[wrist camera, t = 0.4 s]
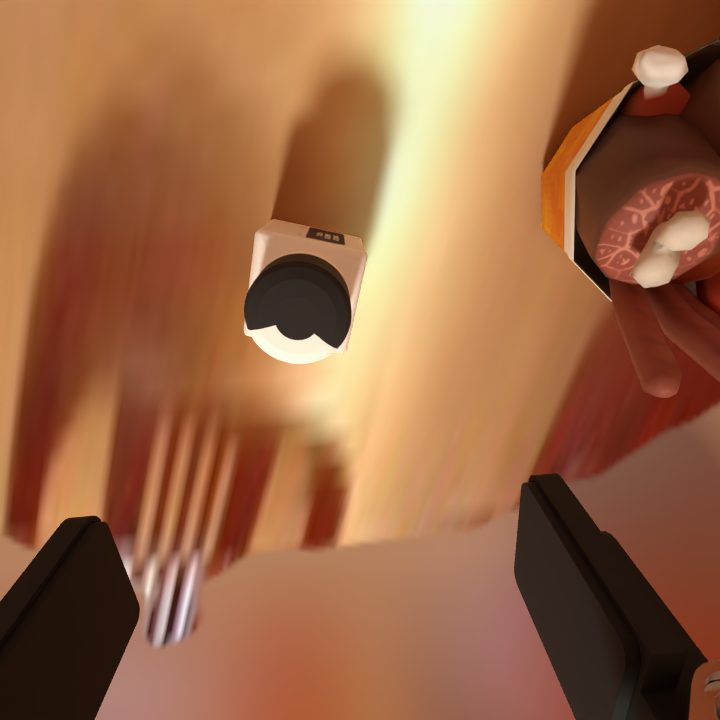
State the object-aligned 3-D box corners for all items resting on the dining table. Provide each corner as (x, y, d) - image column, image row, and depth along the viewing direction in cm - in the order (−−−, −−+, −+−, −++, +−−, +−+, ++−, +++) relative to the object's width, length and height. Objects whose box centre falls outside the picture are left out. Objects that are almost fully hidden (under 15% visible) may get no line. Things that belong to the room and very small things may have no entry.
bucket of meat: (545, 34, 32) (820, -145, 14) (750, 73, 34) (1236, -42, 16) (479, 299, 40) (600, 408, 22) (648, 320, 41) (893, 438, 23)
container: (270, 217, 36) (238, 240, 24) (362, 237, 37) (375, 268, 25) (259, 306, 39) (225, 366, 27) (344, 322, 40) (347, 387, 28)
